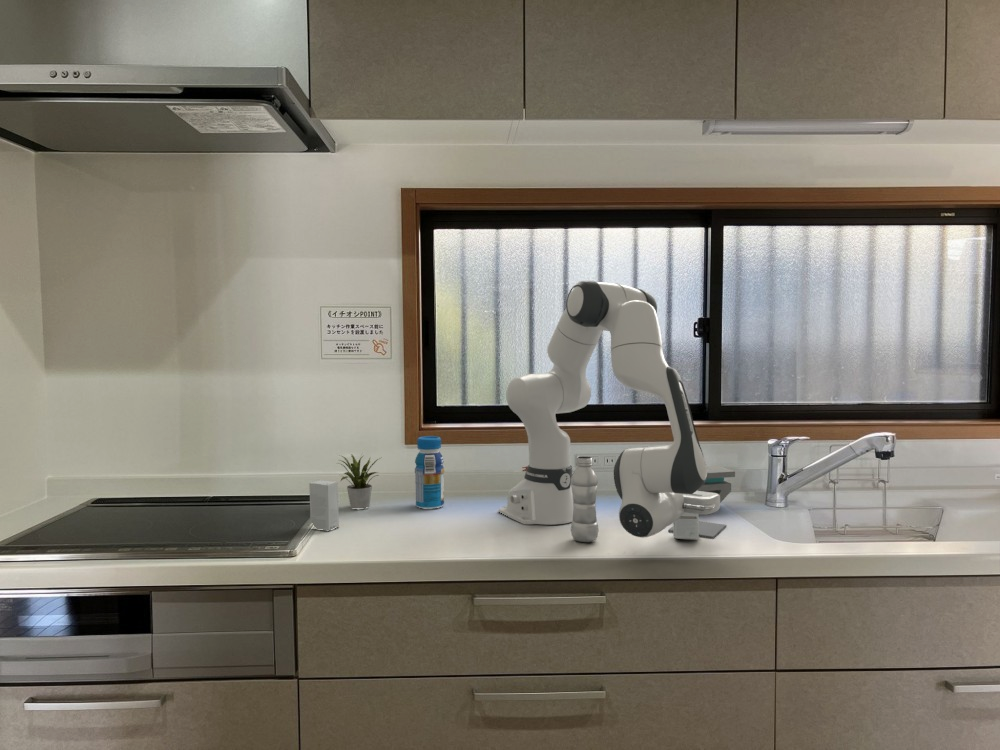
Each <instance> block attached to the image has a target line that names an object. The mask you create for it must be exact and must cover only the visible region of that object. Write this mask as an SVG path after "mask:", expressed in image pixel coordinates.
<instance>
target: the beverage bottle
mask: <svg viewBox="0 0 1000 750" xmlns="http://www.w3.org/2000/svg"><path fill="white" fill-rule="evenodd" d="M416 442H417V443H416V444H417V446H416V447H417V450H418V451H419V452H417V454H416V457H415V459H414V463H415V468H414V475H415V481H414V483H415V506H417V507H419V508H418V509H420V508H437V507H441V506H443V505H445V490H444V489H445V486H444V484H445V481H444V480H445V479H444V478H445V467H444V457H443V455H442V453H441V452H440V450H441V447H442V439H441V437H440V436H434V435H427V436H426V435H425V436H420V437H418V438H417V440H416ZM417 507H416V508H417ZM443 507H444V506H443ZM441 508H442V507H441Z"/></svg>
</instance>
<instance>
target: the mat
mask: <svg viewBox="0 0 1000 750" xmlns="http://www.w3.org/2000/svg"><path fill="white" fill-rule="evenodd" d="M726 527H727V524H721V523H716V522H708V521H704V520H703V521H701V520H699V536H700V538H705V537H706V538H705V539H711V538H713V539H714V538H716V537H717V536H718V535H719V534H720V533H721V532H722V531H724V530H725V529H726ZM667 532H668V533H673V526H672V527H670V528H669V529H668V531H667ZM718 533H719V534H718ZM717 534H718V535H717ZM716 535H717V536H716ZM715 536H716V537H715Z"/></svg>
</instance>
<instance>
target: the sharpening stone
mask: <svg viewBox="0 0 1000 750" xmlns="http://www.w3.org/2000/svg"><path fill="white" fill-rule="evenodd" d="M735 477H736V471H734V470H732V469H729V468H726V467H723V466H719V465H718V466H717V465H716V466H707V480H706V481H705V483H704V484H703V485H702V486H701V487H700V488H699V489H698V491H703V492H712V493H717V494H719V495H720V504H721V503H722V502H723V501H724V500H726V498H727V496H729V494H730V493H731V492H732V483H731V482H728V481H726V480H725V479H726V478H735Z"/></svg>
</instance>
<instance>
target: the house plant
mask: <svg viewBox="0 0 1000 750" xmlns="http://www.w3.org/2000/svg"><path fill="white" fill-rule="evenodd" d="M338 456H340V457H342V458H343V459H344V460H345V461H344V460H340V459H339V461H340V462H342V463H344V464H345V465H346V466H347V467H348V469H349V470H350V471H349V470H348V469H347V467H346V466H345V465H344V464H342V463H340V462H337V464H339V465H341V466H342V467H344V469H345V470H346V472H343V475H346V476H343V475H342V474H341V475H340V476H341V479H340V482H342V481H343V480H346V481H348V482H349V483H350V484H349V485H347V486H346V489H347V490H346V491H347V493H348V500H349V505H350V509H351V508H366V507H369V508H370V505H371V504H370V503H371V496H372V489H373V485H372V484H369V482H370V481H371V480H372V479H373V478H374V477H378V476H380V475H378V473H379V472H378V471H374V472H370V473H369V471H370V469H371V468H372V467H373V465H375V463H376V462H377V461H378V460H380V459H381V457H379V458H377V459H376V460H375V461H374V462H373V463H372V464H371V465H370V466H369V464H370V463H371V457H369V458H368V460H367V462H366V463H365V464H364V465H363V467H362V468H361V460H362V458H363V457H364V455H363V453H361V455H360V458H359V460H358V461H357V459H356V458H355V456H354V455H353V454H350V456H351V458H352V463H350V462H349V460H348V459H347V458H346V457H344V456H343V455H340V454H338ZM360 470H361V471H360ZM374 474H377V475H374ZM372 475H373V476H372ZM370 477H371V478H370ZM348 478H350V480H351V481H352V482H351V481H350V480H348ZM369 478H370V479H369Z"/></svg>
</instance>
